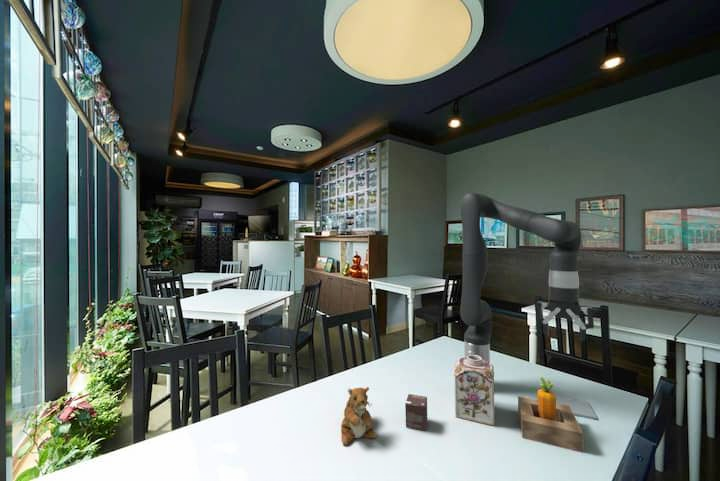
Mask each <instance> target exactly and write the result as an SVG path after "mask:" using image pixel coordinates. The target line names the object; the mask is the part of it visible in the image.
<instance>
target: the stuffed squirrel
mask: <svg viewBox="0 0 720 481" xmlns="http://www.w3.org/2000/svg"><path fill="white" fill-rule="evenodd" d="M369 390H370V387H368V386H366V387H365V388H363V387H355V388H353V389H351V388H347V393H348V394H349V396H348V400H347V401H346V405H345V408H344V410H343V411H344V412H343V416H344V418H342V422H341V424H340V426H341V427H340V431H341V432H340V433H341V436H340V437H341V442H342V445H344V446H347V445H348V444H350V442H352V440H354V439H359V438H362V437H364V438H368V439H373V440H374V439H375V438H377V434H376V432H375V430H374V429H373V428H372V422H373V420H372V416H371V414H370V412H369V410H367V408H366V407H367V405H368V407H369V408H371V406H373V404H372V403H370V402H369V401H368V399H369V396H368V395H367V393H368V392H369Z"/></svg>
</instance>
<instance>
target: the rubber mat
mask: <svg viewBox="0 0 720 481" xmlns="http://www.w3.org/2000/svg"><path fill="white" fill-rule="evenodd" d="M556 404H561V405H567V406H570V408H571V410H572V412H573V414H574V416H575V417H580V418H586V419H589V420H590V419H591V420H595V421H597V420H598V417H597V415H596V414H595V412H594V410H593V409H592V407H591V406H590V404H589V402H588V401H584V400H578V399H572V398H568V397H562V396H557V395H556Z"/></svg>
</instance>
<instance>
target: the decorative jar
mask: <svg viewBox="0 0 720 481" xmlns="http://www.w3.org/2000/svg"><path fill="white" fill-rule="evenodd" d="M454 368H455V369H454V375H453V376H454V416H455V418H459V419H464V420H468V421H472V422H476V423H480V424H485V425H488V426H489V425H490V426H495V393H496V392H495V388H494V387H495V385H494V384H495V383H494V382H495V379H494V378H495V373H494V372H495V371H494V364H493V363H491V362H490V363H489V362H487V361H485V360H483V359H482V358H481V357H480V356H477V355H468V356H467V357H465V356H464V357H460V358H457V359H456V362H455V367H454Z"/></svg>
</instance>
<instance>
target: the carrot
mask: <svg viewBox="0 0 720 481" xmlns="http://www.w3.org/2000/svg"><path fill="white" fill-rule="evenodd" d="M539 378H540V380H541V382H542V383H539V385H540V386H541V387H542V388H540V389H537V393H536V394H537V397H536V400H538V410H539V414H540V418H543V419H548V420H552V421H554V419H555V414H556V396H557V395H556V394H555V392H553V391H551V390H552V388H553V386H554V383H553V382H552V383H551V381H550V380H549V379H547V380H545V378H544V377H543V376H540V377H539Z"/></svg>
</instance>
